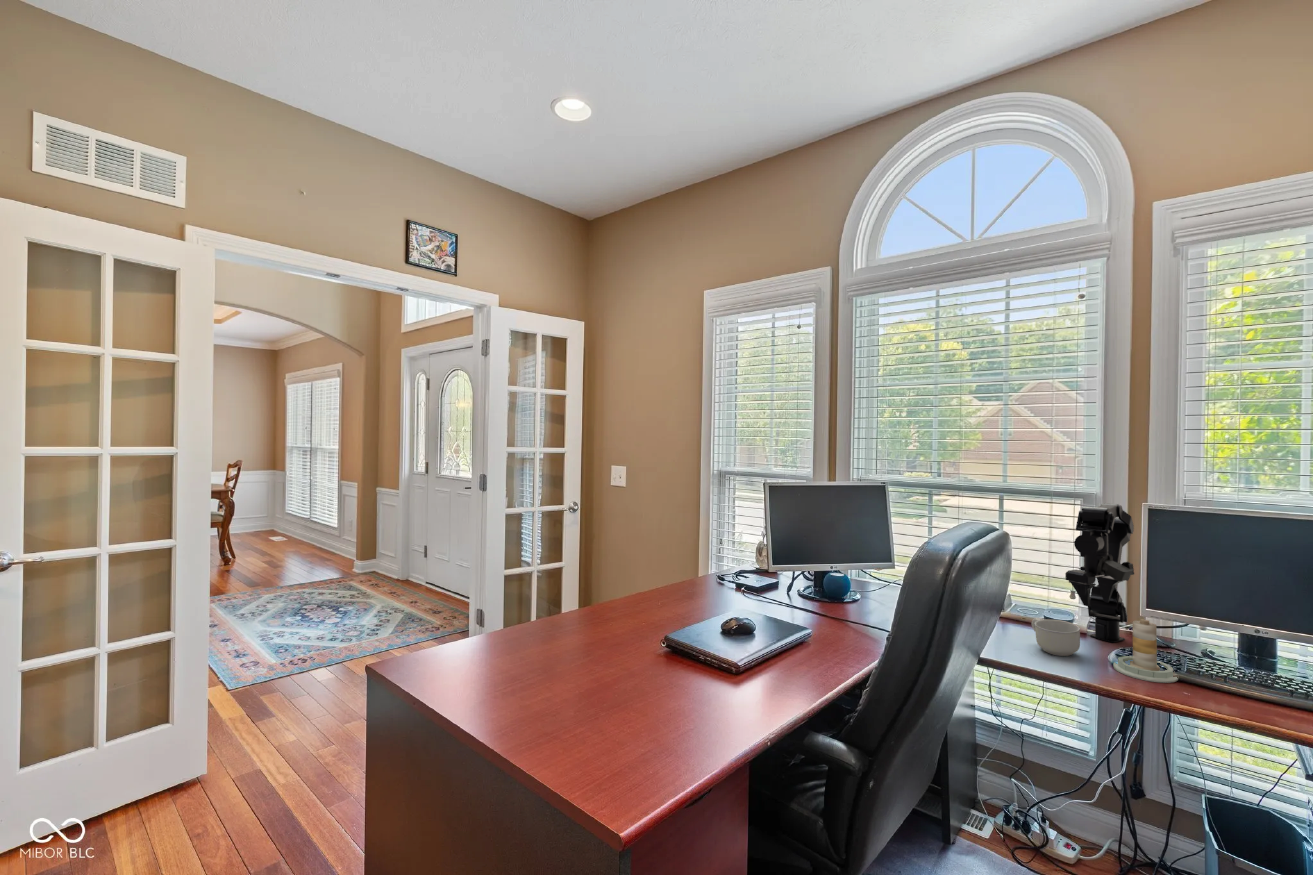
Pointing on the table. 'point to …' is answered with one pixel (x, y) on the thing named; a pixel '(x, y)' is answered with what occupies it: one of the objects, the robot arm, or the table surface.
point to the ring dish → (1145, 671)
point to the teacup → (1057, 636)
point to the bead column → (1144, 645)
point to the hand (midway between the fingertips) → (1096, 603)
